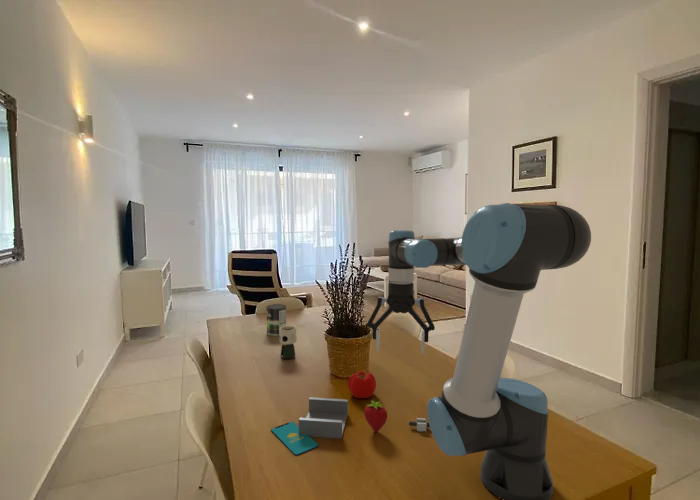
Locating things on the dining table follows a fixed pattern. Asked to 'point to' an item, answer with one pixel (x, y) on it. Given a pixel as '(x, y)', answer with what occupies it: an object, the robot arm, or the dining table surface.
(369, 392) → the tomato
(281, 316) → the coffee can
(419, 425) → the block with rod
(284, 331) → the character mug
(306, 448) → the smartphone
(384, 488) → the dining table surface
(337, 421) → the end holder
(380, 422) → the strawberry
